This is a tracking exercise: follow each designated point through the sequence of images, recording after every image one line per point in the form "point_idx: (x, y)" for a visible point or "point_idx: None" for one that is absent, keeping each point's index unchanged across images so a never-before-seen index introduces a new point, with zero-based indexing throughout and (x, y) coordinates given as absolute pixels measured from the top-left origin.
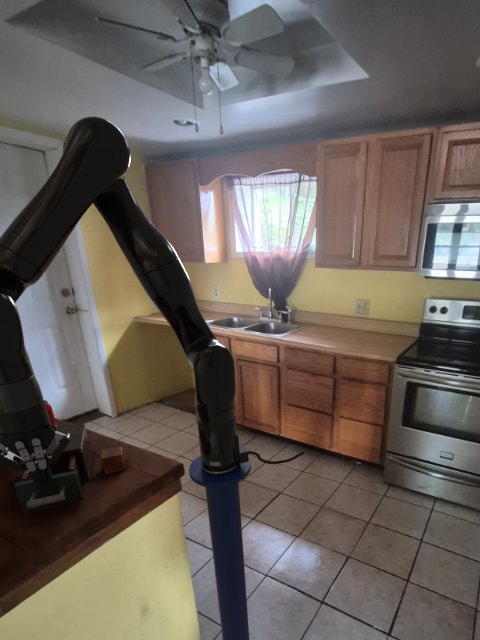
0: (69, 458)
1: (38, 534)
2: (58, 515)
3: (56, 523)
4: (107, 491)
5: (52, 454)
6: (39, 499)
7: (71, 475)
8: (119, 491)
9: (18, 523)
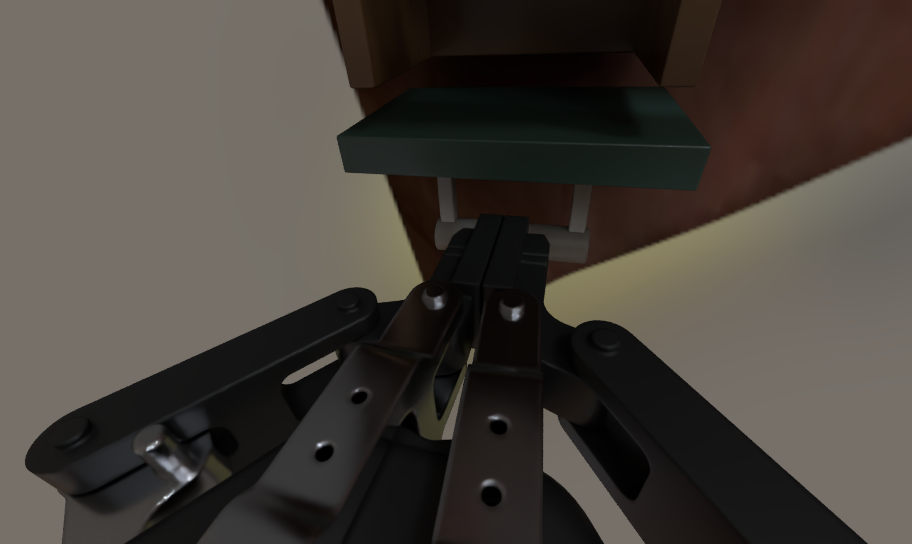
0: None
1: None
2: None
3: (535, 199)
4: (809, 34)
5: (591, 389)
6: None
7: (661, 187)
8: (873, 68)
9: None
